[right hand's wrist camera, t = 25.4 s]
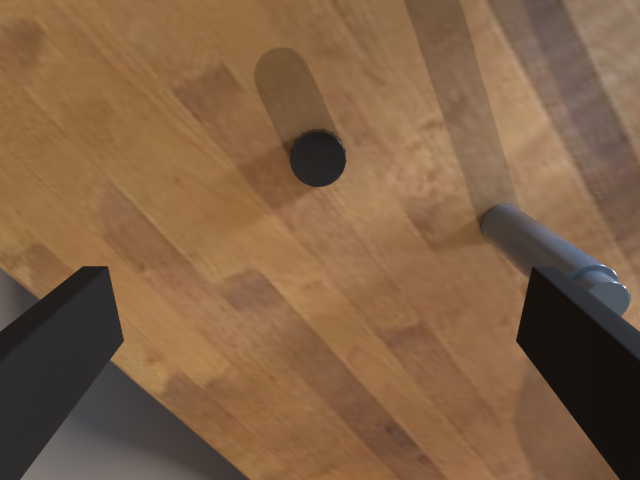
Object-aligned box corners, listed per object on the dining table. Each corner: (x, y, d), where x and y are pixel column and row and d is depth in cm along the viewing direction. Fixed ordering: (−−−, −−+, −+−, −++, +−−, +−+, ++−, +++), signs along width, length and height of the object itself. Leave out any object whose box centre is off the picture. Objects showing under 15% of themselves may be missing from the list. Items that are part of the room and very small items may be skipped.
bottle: (483, 247, 40) (571, 338, 26) (478, 209, 38) (568, 284, 24) (524, 237, 39) (636, 324, 25) (521, 199, 38) (638, 268, 24)
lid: (355, 143, 36) (356, 147, 34) (329, 191, 38) (330, 197, 36) (305, 118, 35) (305, 120, 34) (282, 168, 37) (280, 172, 35)
